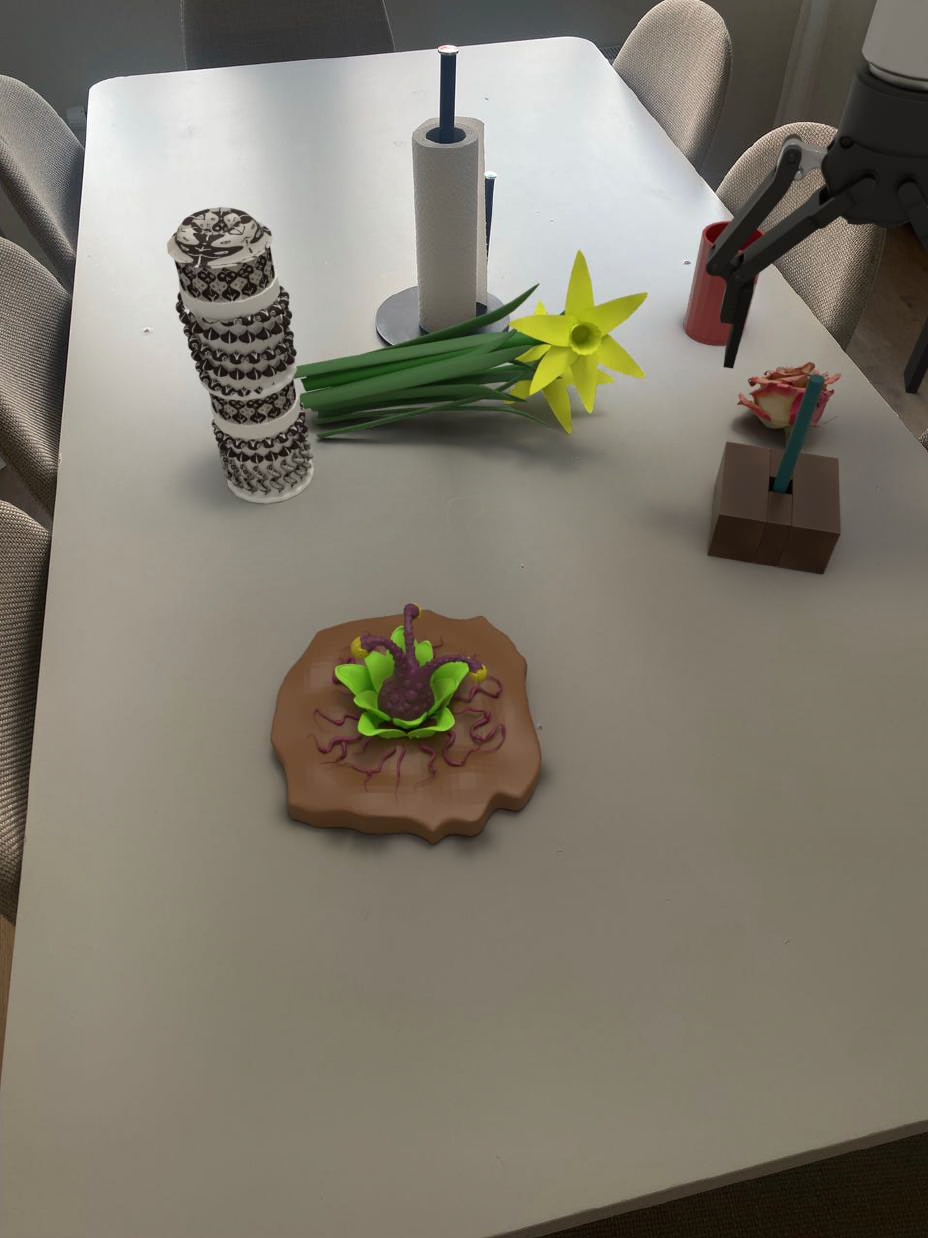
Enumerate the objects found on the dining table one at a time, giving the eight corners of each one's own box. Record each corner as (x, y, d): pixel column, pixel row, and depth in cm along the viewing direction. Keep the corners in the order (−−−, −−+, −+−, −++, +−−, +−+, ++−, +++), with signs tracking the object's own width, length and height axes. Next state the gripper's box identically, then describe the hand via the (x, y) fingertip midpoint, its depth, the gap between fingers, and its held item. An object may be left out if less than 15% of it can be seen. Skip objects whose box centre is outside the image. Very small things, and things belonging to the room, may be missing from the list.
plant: (283, 633, 75) (260, 536, 67) (518, 619, 76) (524, 522, 68) (267, 857, 62) (235, 772, 54) (550, 838, 63) (562, 751, 55)
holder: (822, 499, 86) (839, 457, 82) (823, 574, 80) (841, 533, 76) (715, 482, 87) (726, 441, 84) (707, 555, 81) (719, 513, 77)
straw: (773, 523, 84) (825, 374, 72) (773, 532, 83) (825, 383, 71) (760, 521, 84) (809, 372, 72) (759, 529, 83) (809, 381, 71)
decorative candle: (238, 518, 85) (170, 263, 65) (212, 459, 90) (142, 209, 71) (331, 489, 87) (292, 236, 68) (300, 434, 92) (255, 185, 73)
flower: (856, 444, 88) (861, 359, 86) (781, 449, 85) (785, 361, 83) (786, 442, 97) (789, 365, 95) (715, 447, 94) (717, 367, 92)
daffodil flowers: (335, 364, 102) (651, 299, 93) (342, 490, 99) (668, 436, 91) (262, 292, 86) (636, 205, 77) (269, 440, 83) (656, 368, 74)
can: (745, 316, 106) (768, 224, 98) (742, 348, 102) (766, 255, 94) (686, 309, 107) (704, 217, 99) (681, 340, 103) (699, 247, 95)
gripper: (1135, 63, 55) (982, 366, 71) (716, 29, 59) (662, 323, 75) (1165, 112, 50) (994, 423, 66) (708, 70, 54) (651, 374, 70)
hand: (817, 371), depth 71 cm, fingers open, 13 cm apart
